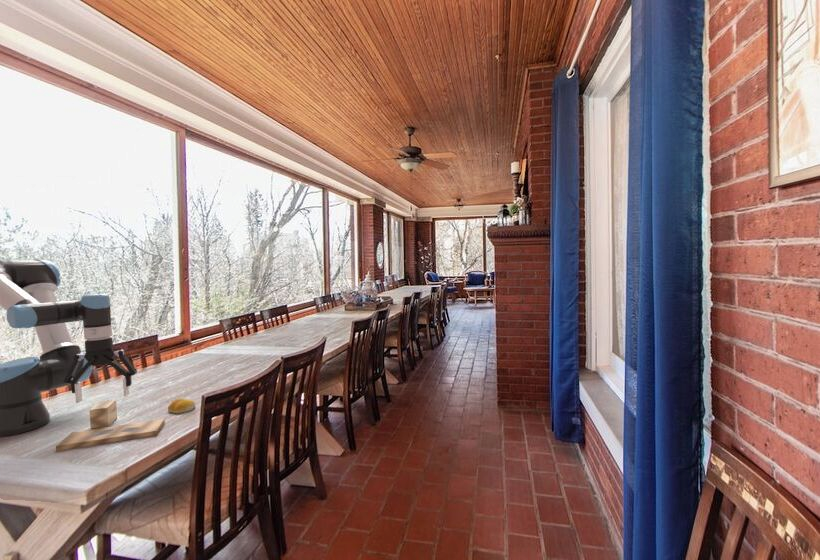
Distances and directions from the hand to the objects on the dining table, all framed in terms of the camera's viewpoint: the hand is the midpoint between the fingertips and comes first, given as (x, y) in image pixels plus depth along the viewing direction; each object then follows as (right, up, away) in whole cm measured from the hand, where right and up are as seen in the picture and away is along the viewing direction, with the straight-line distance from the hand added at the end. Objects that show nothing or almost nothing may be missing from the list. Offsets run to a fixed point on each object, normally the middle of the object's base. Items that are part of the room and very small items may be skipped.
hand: (103, 398), depth 133 cm
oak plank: (+11, -9, -9) cm, 17 cm away
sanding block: (0, -9, +1) cm, 9 cm away
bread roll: (+20, -8, +13) cm, 25 cm away
